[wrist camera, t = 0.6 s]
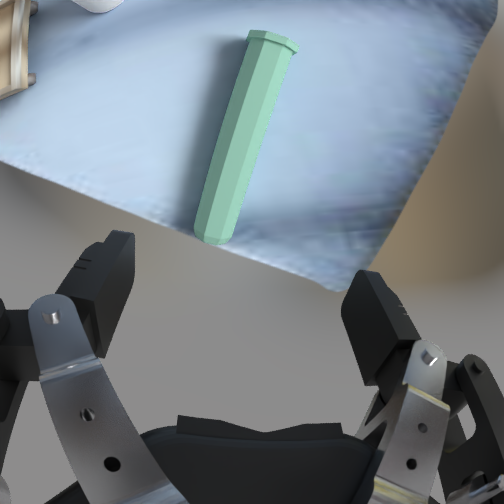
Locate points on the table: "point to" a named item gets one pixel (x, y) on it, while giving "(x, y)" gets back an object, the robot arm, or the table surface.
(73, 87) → the table surface
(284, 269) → the table surface
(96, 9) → the can
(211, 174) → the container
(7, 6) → the shallow wooden tray
